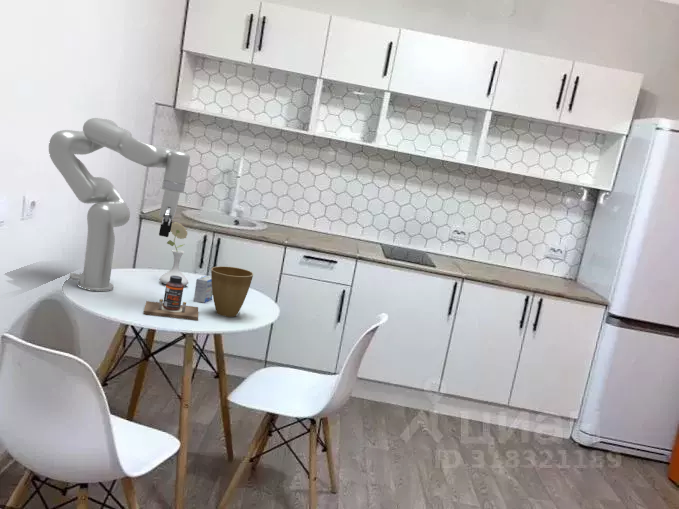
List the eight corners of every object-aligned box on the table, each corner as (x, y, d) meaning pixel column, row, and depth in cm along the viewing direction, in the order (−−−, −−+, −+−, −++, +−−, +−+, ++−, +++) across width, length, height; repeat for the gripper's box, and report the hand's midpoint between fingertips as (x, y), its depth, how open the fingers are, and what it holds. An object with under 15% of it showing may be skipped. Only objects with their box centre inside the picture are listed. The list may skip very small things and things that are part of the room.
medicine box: (204, 303, 256) (207, 280, 255) (193, 300, 257) (196, 278, 256) (212, 299, 264) (215, 277, 263) (201, 297, 265) (204, 275, 264)
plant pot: (225, 306, 257) (231, 265, 255) (254, 317, 249) (261, 274, 247) (196, 310, 245) (202, 266, 243) (226, 322, 237) (233, 277, 235)
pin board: (143, 314, 229) (145, 301, 228) (145, 304, 241) (147, 291, 240) (197, 320, 233) (199, 307, 232) (197, 310, 245) (199, 297, 245)
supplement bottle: (164, 310, 233) (169, 278, 231) (160, 305, 238) (165, 274, 236) (182, 311, 236) (186, 279, 234) (177, 306, 241) (182, 275, 239)
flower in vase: (193, 287, 277) (202, 227, 274) (170, 288, 269) (178, 226, 265) (174, 279, 286) (182, 220, 282) (150, 280, 277) (159, 219, 273)
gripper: (164, 181, 248) (156, 227, 250) (160, 186, 231) (151, 236, 234) (185, 186, 249) (176, 231, 252) (182, 191, 232) (173, 240, 235)
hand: (164, 233), depth 243 cm, fingers open, 9 cm apart
